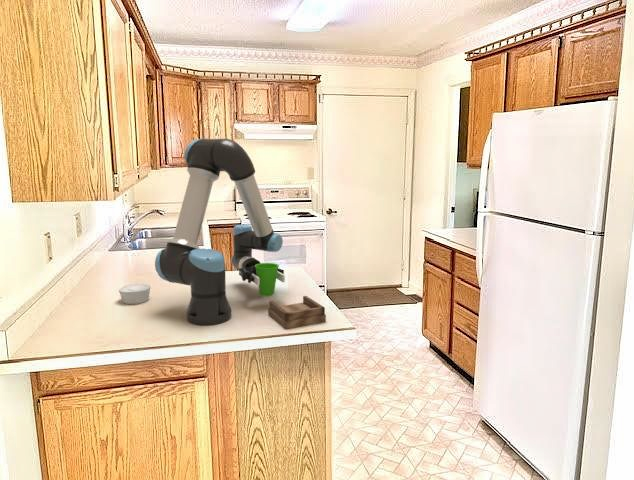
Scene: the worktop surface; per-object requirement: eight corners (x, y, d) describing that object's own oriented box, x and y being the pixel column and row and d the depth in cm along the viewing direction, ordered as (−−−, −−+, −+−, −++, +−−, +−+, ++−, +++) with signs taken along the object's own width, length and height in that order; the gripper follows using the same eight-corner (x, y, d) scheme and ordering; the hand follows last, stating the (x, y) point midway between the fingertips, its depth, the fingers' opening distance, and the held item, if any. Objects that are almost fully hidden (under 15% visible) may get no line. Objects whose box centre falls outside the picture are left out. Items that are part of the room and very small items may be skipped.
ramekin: (113, 304, 175) (112, 291, 174) (129, 295, 186) (128, 282, 185) (141, 306, 174) (141, 292, 173) (156, 297, 184) (155, 284, 183)
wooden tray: (285, 329, 152) (285, 314, 151) (268, 314, 165) (268, 301, 164) (325, 321, 159) (325, 307, 158) (306, 308, 172) (306, 295, 171)
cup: (275, 298, 168) (275, 269, 166) (251, 296, 170) (250, 267, 168) (281, 291, 177) (282, 263, 175) (259, 290, 179) (258, 262, 177)
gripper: (275, 273, 194) (298, 286, 174) (224, 278, 184) (242, 293, 164) (275, 255, 193) (298, 267, 173) (224, 260, 183) (242, 273, 163)
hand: (271, 280), depth 169 cm, fingers closed on cup, 9 cm apart
